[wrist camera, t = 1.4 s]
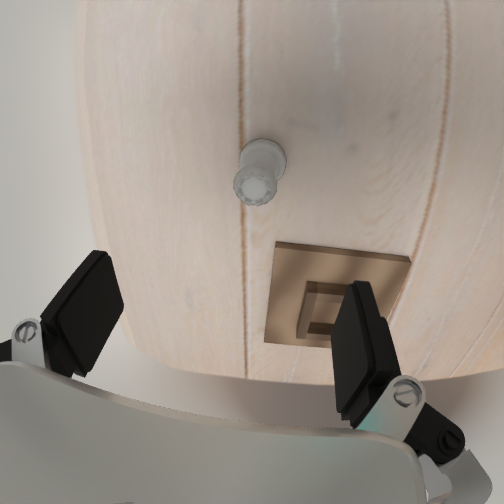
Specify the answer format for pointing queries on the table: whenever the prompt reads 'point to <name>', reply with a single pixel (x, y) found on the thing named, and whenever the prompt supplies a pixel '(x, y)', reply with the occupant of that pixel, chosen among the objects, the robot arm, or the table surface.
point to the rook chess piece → (259, 172)
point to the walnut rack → (324, 289)
